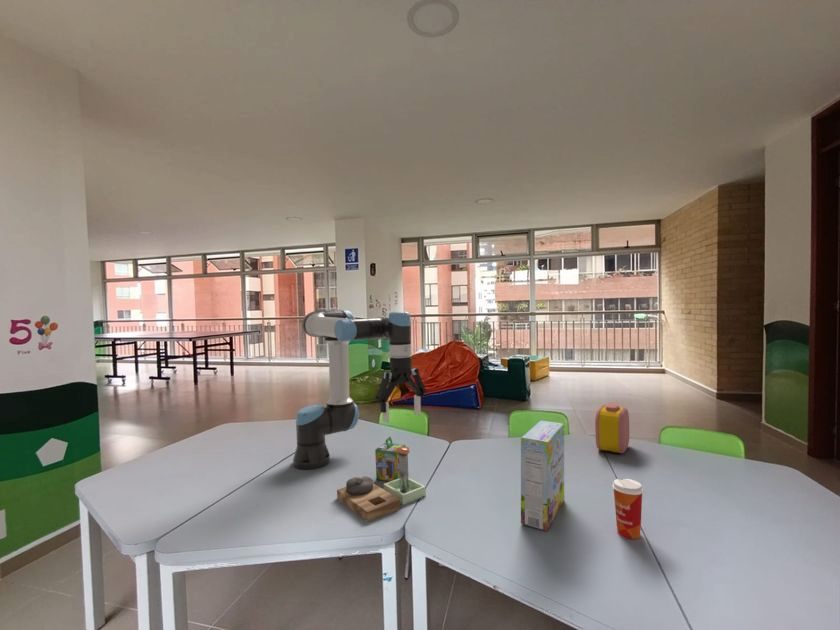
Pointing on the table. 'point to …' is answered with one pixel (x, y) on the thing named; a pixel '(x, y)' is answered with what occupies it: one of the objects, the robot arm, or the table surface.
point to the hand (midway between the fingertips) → (402, 417)
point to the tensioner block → (367, 498)
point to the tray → (414, 492)
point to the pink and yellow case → (612, 428)
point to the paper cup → (628, 507)
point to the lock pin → (403, 469)
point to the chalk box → (387, 461)
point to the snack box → (542, 474)
